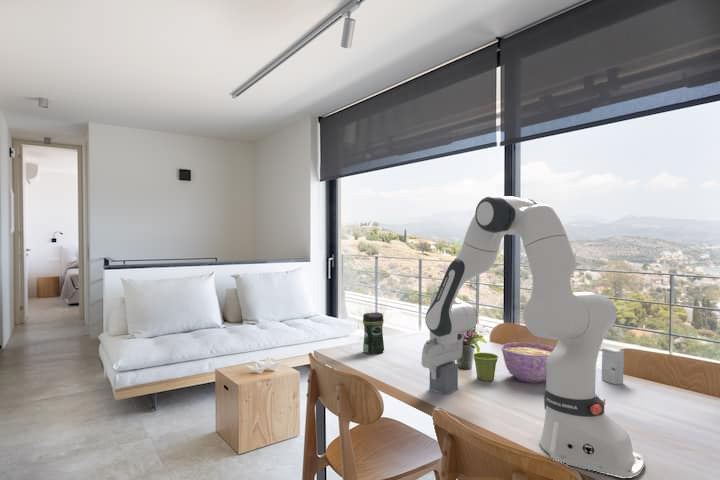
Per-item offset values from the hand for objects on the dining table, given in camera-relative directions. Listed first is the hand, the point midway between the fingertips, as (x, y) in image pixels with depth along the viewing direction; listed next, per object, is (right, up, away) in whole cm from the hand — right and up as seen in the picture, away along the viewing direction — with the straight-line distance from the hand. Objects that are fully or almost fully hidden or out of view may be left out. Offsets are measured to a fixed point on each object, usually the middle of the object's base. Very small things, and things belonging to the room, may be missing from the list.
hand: (442, 375), depth 152 cm
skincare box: (+64, -5, +7) cm, 65 cm away
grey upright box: (0, -5, 0) cm, 5 cm away
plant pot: (+18, -5, +11) cm, 22 cm away
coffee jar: (-23, -5, +50) cm, 56 cm away
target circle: (0, -5, 0) cm, 5 cm away
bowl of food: (+35, -5, +10) cm, 37 cm away
